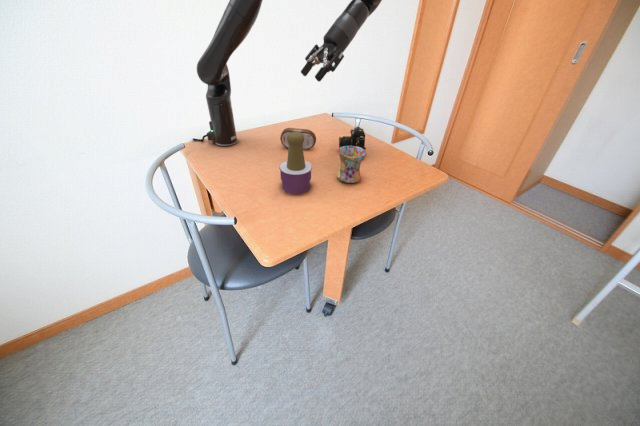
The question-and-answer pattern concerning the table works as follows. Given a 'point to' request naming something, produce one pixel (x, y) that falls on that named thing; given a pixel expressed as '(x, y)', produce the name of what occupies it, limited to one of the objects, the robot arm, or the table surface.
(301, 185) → the yogurt tub
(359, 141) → the film camera
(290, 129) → the tin
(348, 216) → the table surface
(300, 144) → the olive green pawn
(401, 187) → the table surface
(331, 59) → the robot arm
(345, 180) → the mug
